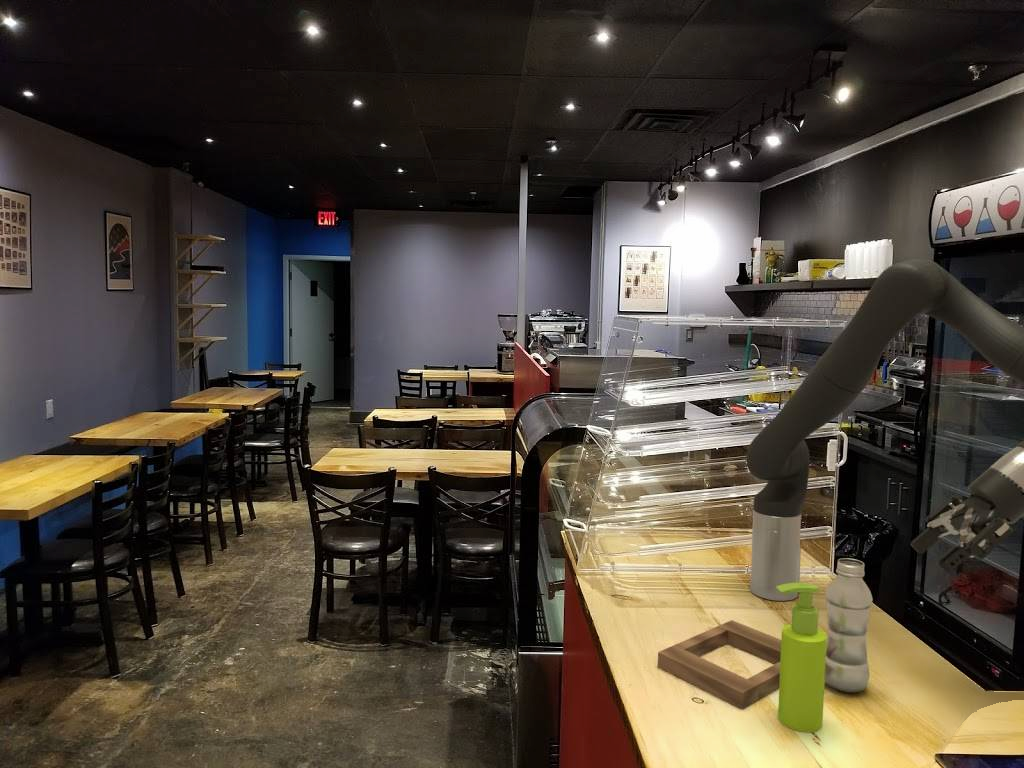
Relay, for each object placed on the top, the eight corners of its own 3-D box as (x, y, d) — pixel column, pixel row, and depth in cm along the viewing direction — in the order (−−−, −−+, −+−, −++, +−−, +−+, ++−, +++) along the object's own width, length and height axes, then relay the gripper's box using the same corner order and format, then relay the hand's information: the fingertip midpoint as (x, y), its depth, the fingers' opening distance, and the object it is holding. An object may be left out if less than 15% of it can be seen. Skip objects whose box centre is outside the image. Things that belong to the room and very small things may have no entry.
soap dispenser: (764, 710, 106) (769, 577, 104) (809, 708, 107) (816, 576, 104) (782, 733, 100) (788, 594, 98) (830, 731, 101) (837, 592, 99)
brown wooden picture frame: (731, 633, 131) (731, 620, 131) (814, 668, 118) (815, 653, 118) (657, 666, 119) (658, 652, 118) (742, 709, 106) (742, 693, 106)
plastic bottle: (873, 700, 109) (881, 571, 107) (825, 695, 110) (832, 567, 108) (862, 679, 115) (869, 556, 113) (816, 674, 116) (822, 553, 114)
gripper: (970, 457, 114) (890, 527, 116) (1023, 477, 100) (931, 556, 102) (1004, 491, 114) (924, 560, 116) (1062, 516, 100) (969, 594, 102)
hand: (927, 558), depth 109 cm, fingers open, 8 cm apart
